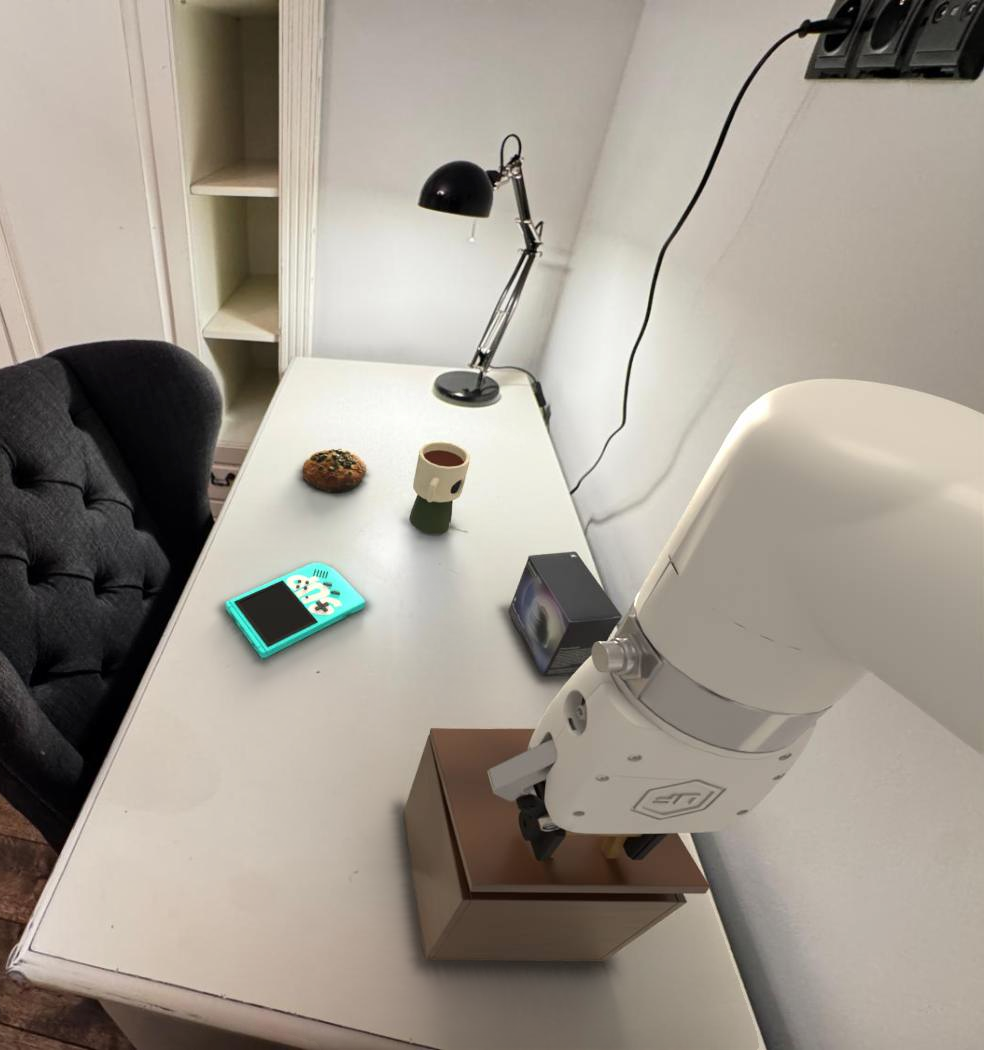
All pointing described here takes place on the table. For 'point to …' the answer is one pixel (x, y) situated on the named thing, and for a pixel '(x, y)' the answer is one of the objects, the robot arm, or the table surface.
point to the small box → (561, 612)
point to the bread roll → (334, 470)
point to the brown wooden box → (508, 899)
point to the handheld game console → (293, 607)
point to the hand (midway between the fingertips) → (579, 834)
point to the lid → (509, 859)
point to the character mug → (438, 485)
